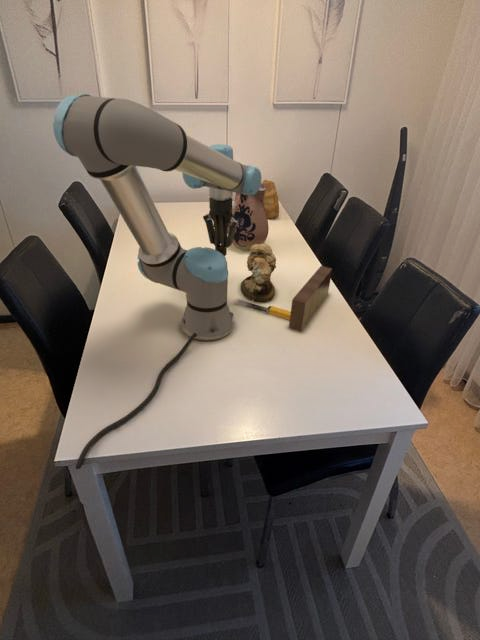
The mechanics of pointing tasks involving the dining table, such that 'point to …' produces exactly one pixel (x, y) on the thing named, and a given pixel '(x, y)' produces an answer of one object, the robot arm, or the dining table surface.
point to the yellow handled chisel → (266, 309)
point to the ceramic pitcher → (250, 219)
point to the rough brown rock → (271, 199)
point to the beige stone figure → (259, 274)
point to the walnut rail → (310, 298)
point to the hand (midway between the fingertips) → (220, 263)
